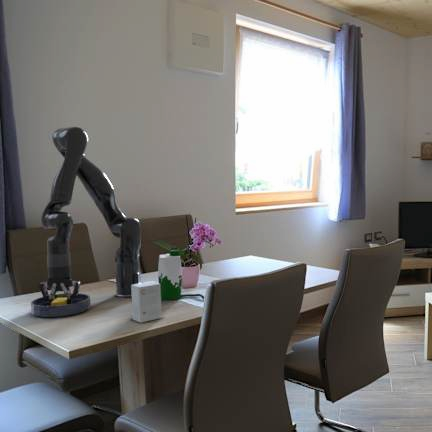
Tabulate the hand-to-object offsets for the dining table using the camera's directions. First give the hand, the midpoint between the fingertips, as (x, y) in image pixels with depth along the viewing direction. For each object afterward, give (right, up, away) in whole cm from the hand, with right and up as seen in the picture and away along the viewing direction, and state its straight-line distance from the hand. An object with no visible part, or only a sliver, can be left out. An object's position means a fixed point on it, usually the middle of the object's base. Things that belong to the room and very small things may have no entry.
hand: (61, 308), depth 207 cm
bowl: (0, -1, +1) cm, 1 cm away
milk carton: (+32, +1, +23) cm, 40 cm away
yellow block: (0, -1, 0) cm, 1 cm away
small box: (+35, -3, -7) cm, 36 cm away
